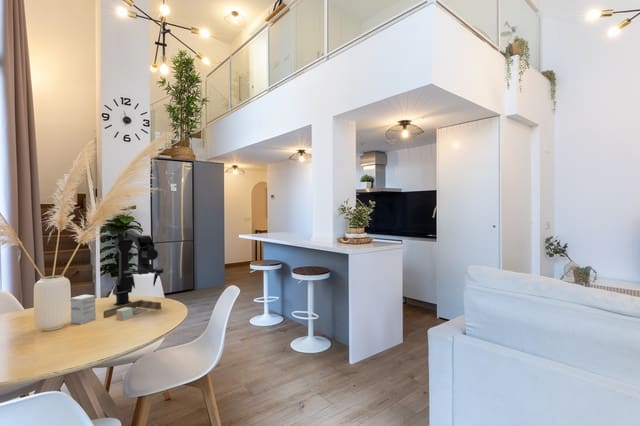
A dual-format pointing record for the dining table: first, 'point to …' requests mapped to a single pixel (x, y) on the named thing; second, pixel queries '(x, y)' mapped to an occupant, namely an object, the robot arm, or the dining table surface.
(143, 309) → the tile
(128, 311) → the sage cube
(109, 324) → the dining table surface
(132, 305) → the block
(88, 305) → the supplement box
